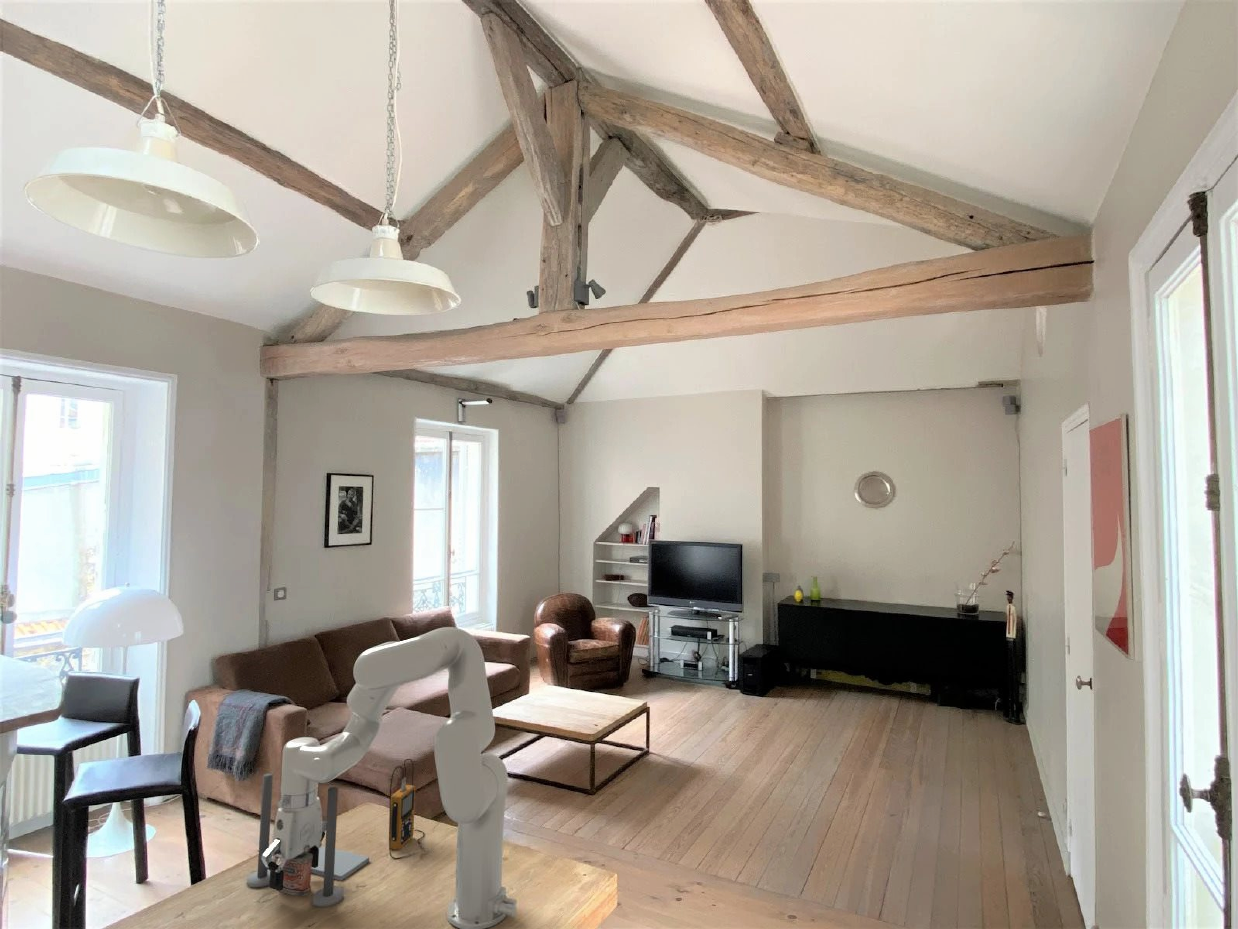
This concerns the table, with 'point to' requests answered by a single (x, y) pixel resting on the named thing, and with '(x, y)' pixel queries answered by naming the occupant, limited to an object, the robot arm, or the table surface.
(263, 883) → the far cord post
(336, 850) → the mat
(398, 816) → the multimeter
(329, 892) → the post
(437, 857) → the table surface
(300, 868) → the lighter
